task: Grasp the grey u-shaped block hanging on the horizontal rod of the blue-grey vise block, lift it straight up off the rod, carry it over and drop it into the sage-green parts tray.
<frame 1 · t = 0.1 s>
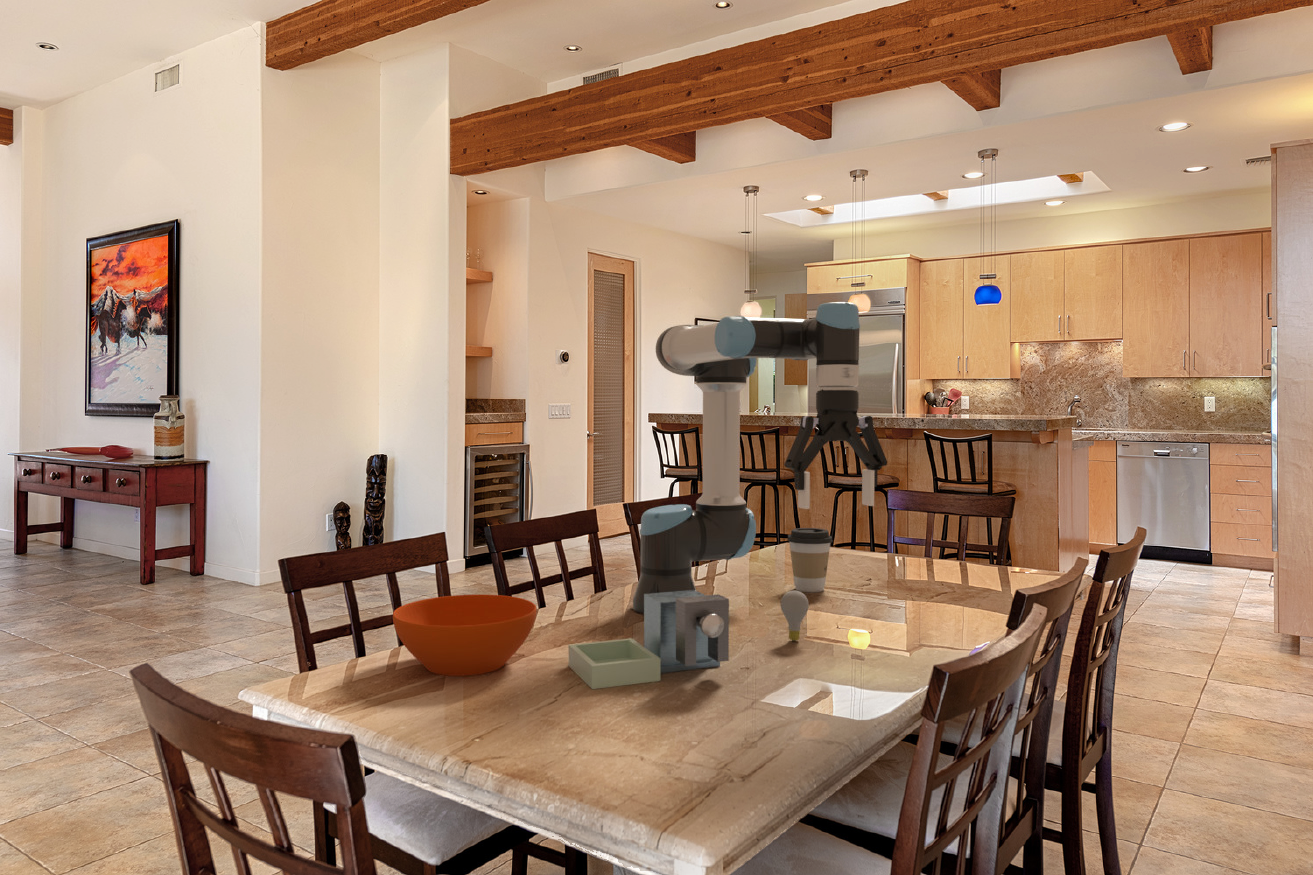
hand: (836, 506, 161), 28 cm above the table, fingers open, 13 cm apart
light bulb: (794, 642, 175), on the table
tray: (613, 673, 154), on the table
bowl: (466, 665, 160), on the table
grey u-shaped block: (702, 659, 151), point 3 cm above the table, touching vise
vise: (677, 662, 161), on the table
coffee cup: (809, 590, 225), on the table
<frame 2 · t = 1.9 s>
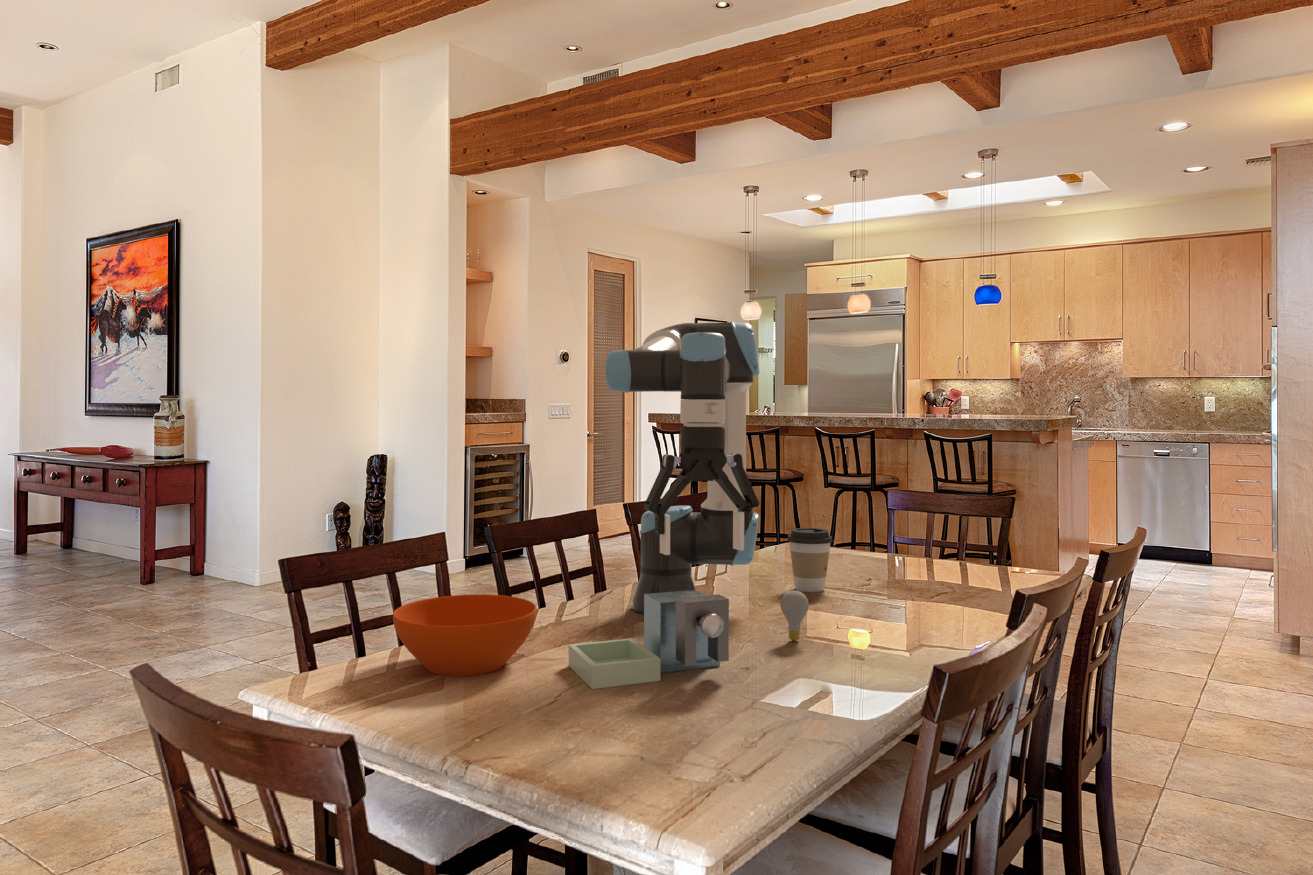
hand: (702, 551, 150), 22 cm above the table, fingers open, 13 cm apart
nothing on the table moved.
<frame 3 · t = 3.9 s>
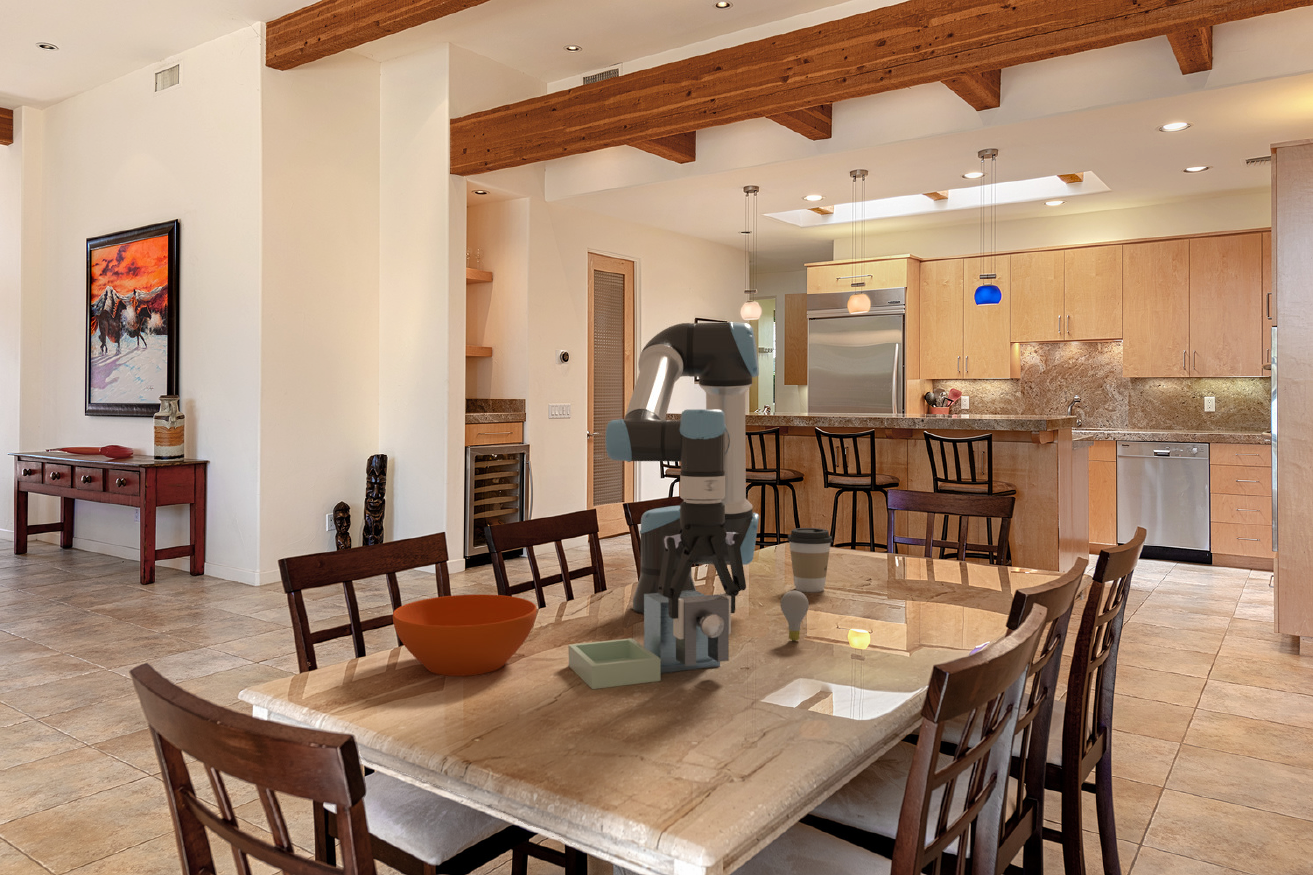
hand: (702, 634, 151), 8 cm above the table, fingers closed on grey u-shaped block, 8 cm apart
grey u-shaped block: (702, 659, 151), point 3 cm above the table, touching gripper, vise
everything else where it was.
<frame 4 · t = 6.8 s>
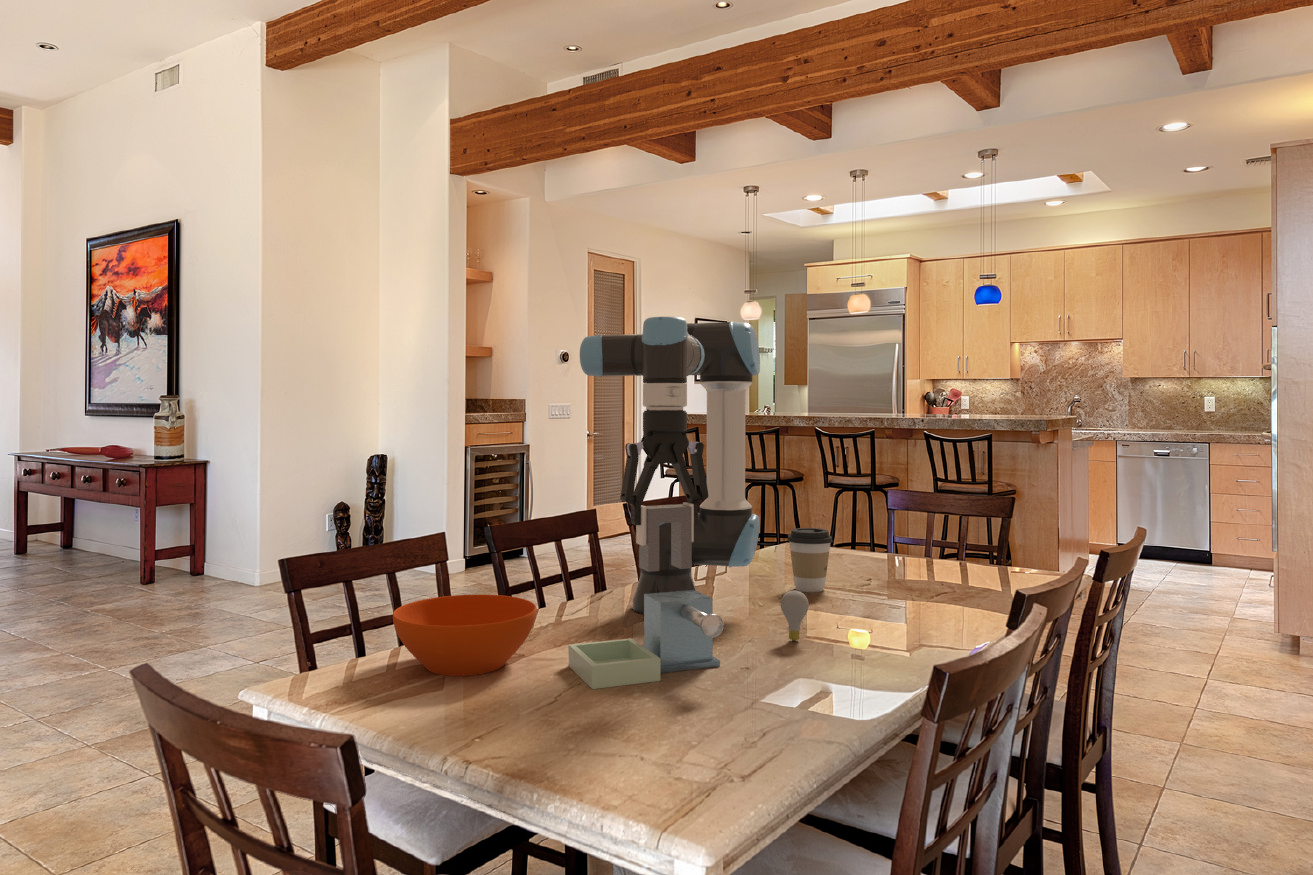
hand: (665, 542, 152), 23 cm above the table, fingers closed on grey u-shaped block, 8 cm apart
grey u-shaped block: (665, 567, 152), point 19 cm above the table, touching gripper
everything else where it was.
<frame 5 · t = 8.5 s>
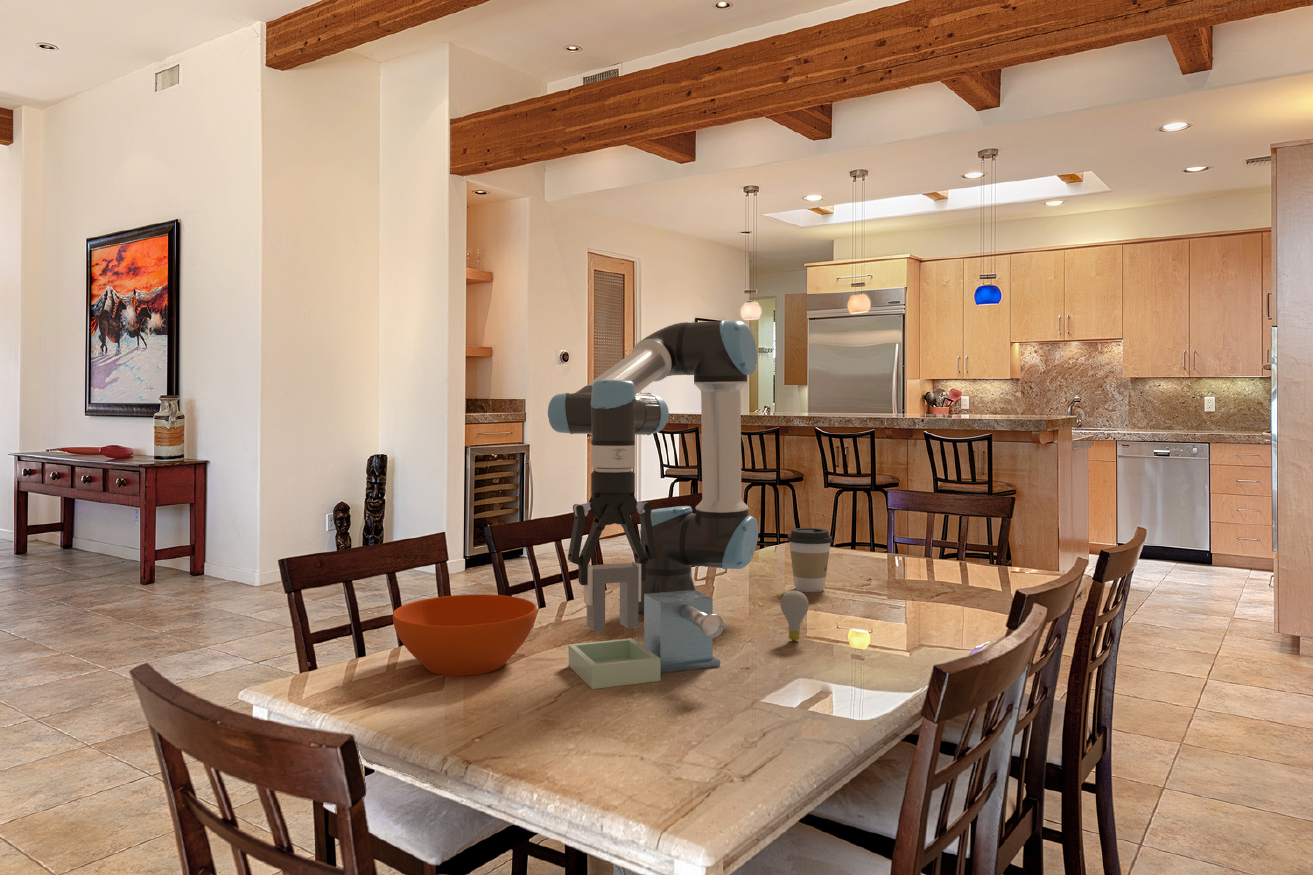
hand: (612, 601, 153), 12 cm above the table, fingers closed on grey u-shaped block, 8 cm apart
grey u-shaped block: (612, 626, 154), point 8 cm above the table, touching gripper
everything else where it was.
when the fingers open (7 cm above the table, at t = 9.9 s): grey u-shaped block drops 2 cm, resting on tray.
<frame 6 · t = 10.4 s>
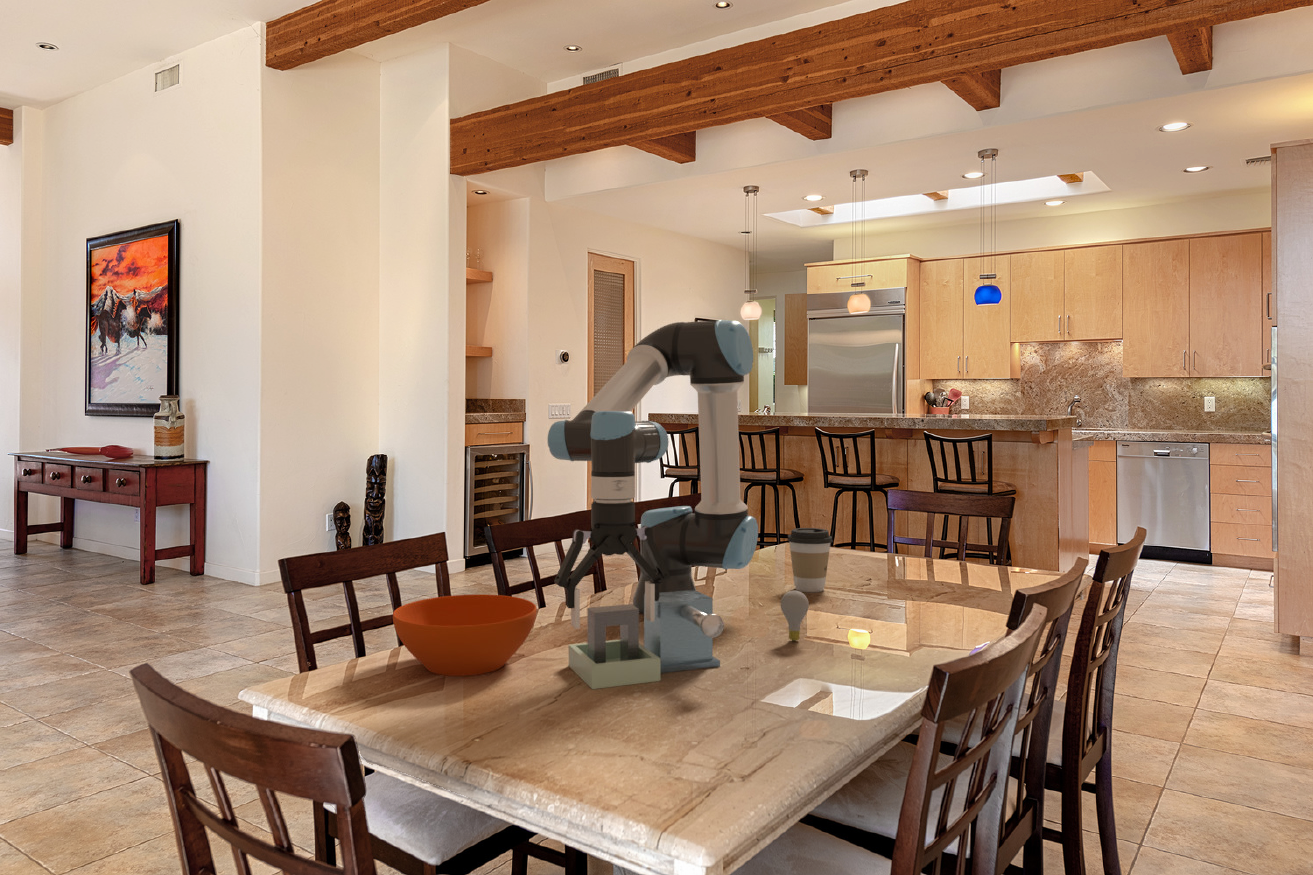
hand: (613, 623, 154), 9 cm above the table, fingers open, 13 cm apart
grey u-shaped block: (613, 668, 154), point 1 cm above the table, touching tray
everything else where it was.
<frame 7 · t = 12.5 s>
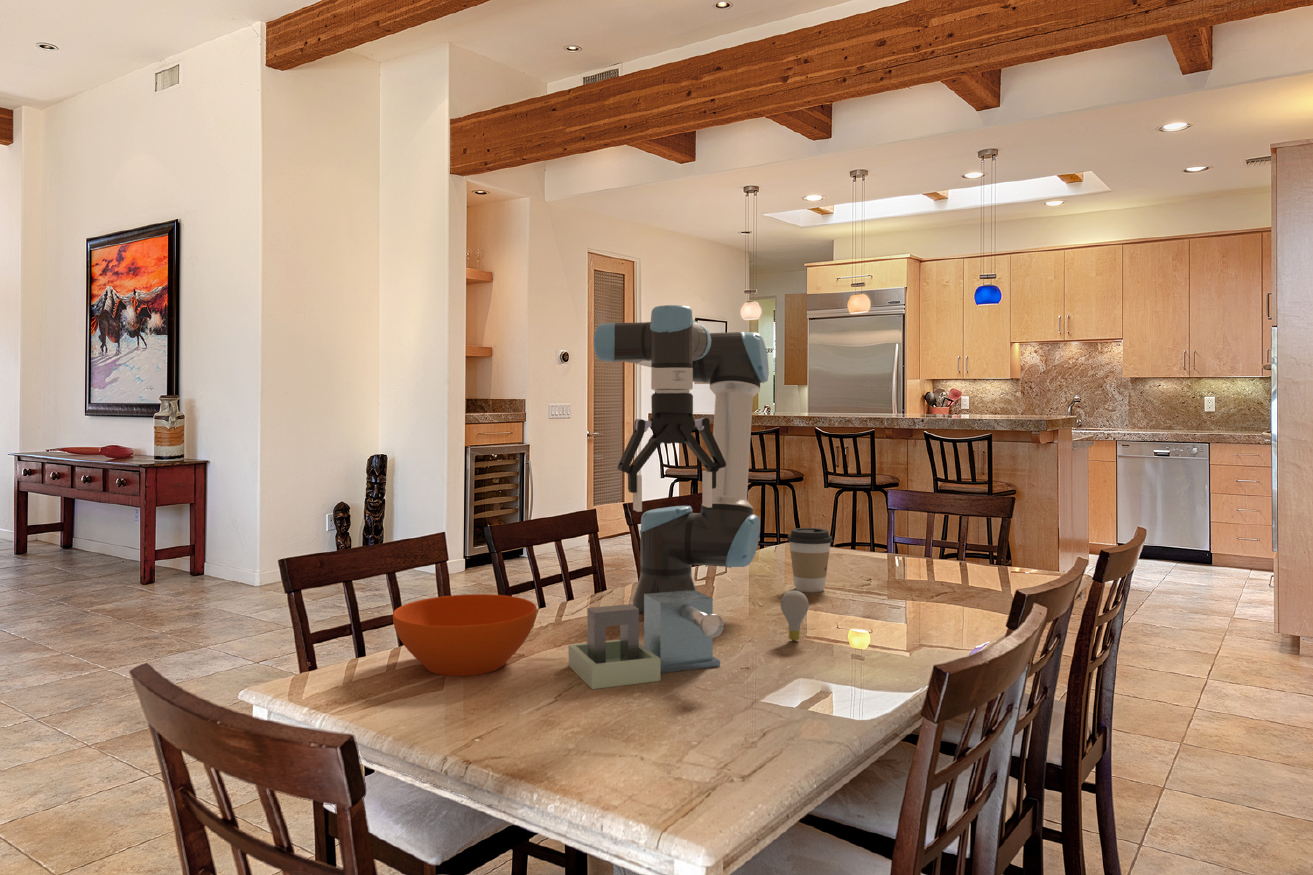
hand: (672, 508, 162), 28 cm above the table, fingers open, 13 cm apart
nothing on the table moved.
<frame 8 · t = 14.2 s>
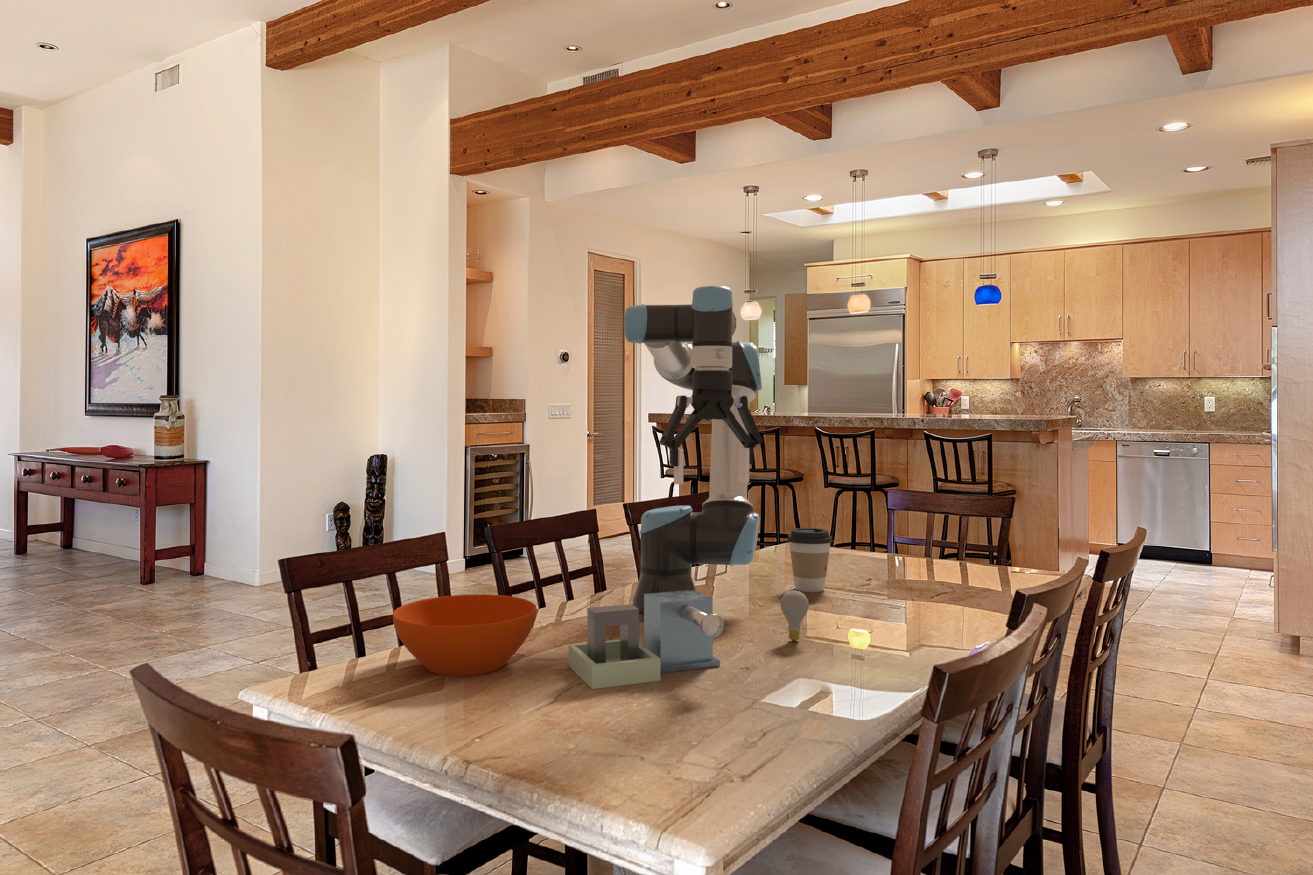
hand: (711, 483, 168), 32 cm above the table, fingers open, 13 cm apart
nothing on the table moved.
at the end: grey u-shaped block inside the target area on the tray (0.0 cm from its centre), point 0.8 cm above the tray's base; grey u-shaped block touching tray; the gripper is holding nothing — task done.
